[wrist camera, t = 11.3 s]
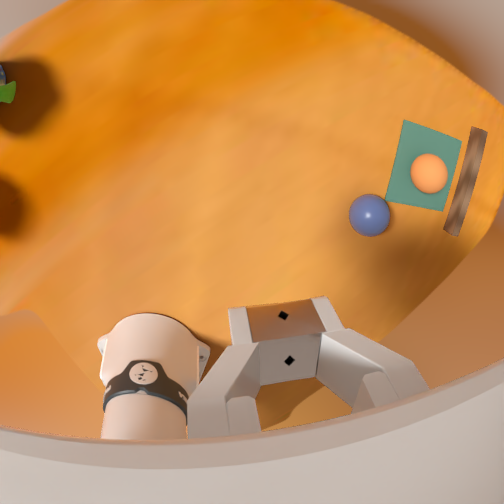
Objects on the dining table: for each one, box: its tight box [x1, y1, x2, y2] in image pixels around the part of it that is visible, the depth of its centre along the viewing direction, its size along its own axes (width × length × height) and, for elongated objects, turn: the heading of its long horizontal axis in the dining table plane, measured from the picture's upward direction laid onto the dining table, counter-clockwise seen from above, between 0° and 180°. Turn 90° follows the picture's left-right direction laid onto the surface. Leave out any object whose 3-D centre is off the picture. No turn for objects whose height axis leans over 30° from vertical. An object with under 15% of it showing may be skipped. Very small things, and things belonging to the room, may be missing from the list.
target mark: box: [385, 120, 462, 212], centre depth 42 cm, size 12×12×1 cm
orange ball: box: [410, 154, 448, 194], centre depth 39 cm, size 6×6×6 cm
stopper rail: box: [444, 127, 488, 236], centre depth 42 cm, size 18×2×2 cm, turn 172°
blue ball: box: [349, 194, 390, 237], centre depth 41 cm, size 6×6×6 cm
